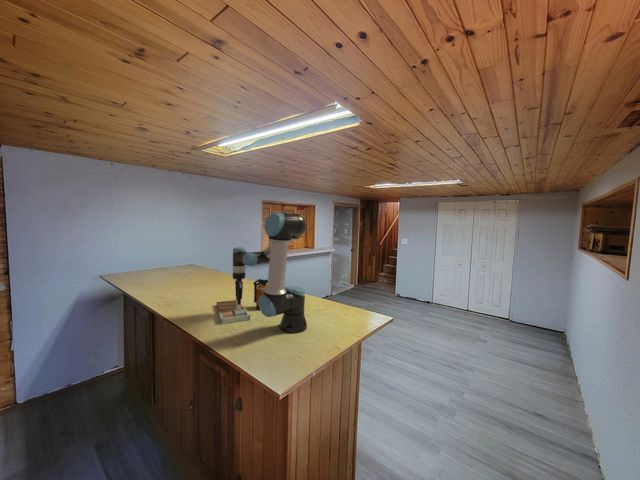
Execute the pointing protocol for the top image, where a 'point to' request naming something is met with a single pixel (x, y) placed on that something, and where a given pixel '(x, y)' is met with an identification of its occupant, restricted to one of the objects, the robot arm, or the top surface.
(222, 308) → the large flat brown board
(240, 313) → the tile
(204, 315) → the top surface
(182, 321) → the top surface
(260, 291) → the canister
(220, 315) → the tray
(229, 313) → the tile
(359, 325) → the top surface
